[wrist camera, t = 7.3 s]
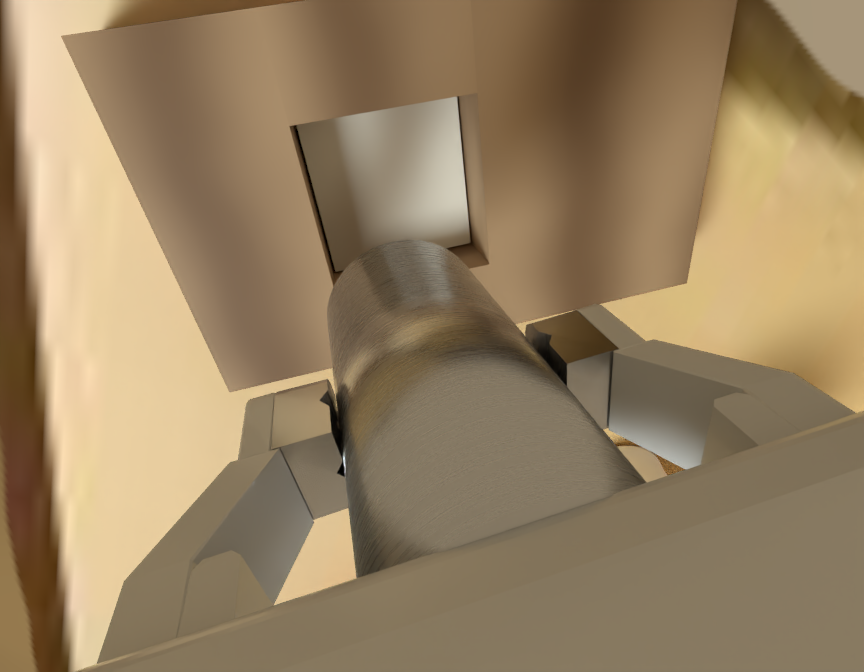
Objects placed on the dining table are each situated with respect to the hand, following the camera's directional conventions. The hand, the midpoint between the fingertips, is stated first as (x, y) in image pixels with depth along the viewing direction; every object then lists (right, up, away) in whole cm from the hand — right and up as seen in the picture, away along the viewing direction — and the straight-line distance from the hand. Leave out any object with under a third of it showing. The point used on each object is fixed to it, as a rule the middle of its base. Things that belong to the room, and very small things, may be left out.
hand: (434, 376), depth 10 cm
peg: (-1, +1, +3) cm, 3 cm away
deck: (0, +7, +9) cm, 12 cm away
